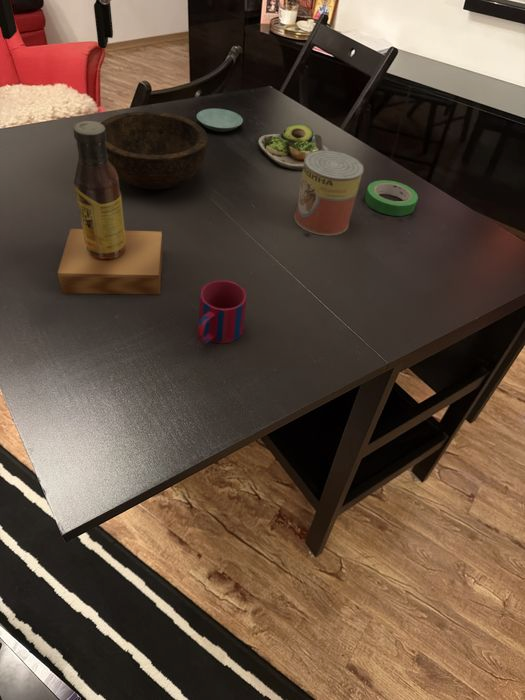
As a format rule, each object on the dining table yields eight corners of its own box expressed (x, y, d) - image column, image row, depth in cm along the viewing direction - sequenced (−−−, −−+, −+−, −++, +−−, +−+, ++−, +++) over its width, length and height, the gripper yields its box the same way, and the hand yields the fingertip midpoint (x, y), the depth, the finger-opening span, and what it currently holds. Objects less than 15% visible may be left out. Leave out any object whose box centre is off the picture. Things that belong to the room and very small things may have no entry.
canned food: (283, 211, 99) (292, 154, 90) (327, 201, 103) (340, 146, 95) (314, 240, 93) (327, 182, 84) (359, 229, 97) (376, 173, 89)
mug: (251, 325, 74) (255, 292, 70) (213, 364, 68) (215, 330, 63) (216, 307, 76) (218, 273, 72) (176, 343, 70) (175, 308, 65)
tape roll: (355, 192, 107) (358, 181, 106) (396, 188, 111) (399, 177, 109) (381, 219, 101) (385, 208, 99) (423, 213, 104) (428, 202, 102)
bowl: (185, 152, 112) (185, 108, 105) (222, 199, 99) (224, 152, 92) (90, 163, 104) (83, 115, 97) (117, 215, 91) (111, 164, 84)
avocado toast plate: (350, 171, 114) (355, 152, 111) (283, 179, 108) (286, 159, 105) (312, 137, 126) (315, 118, 123) (250, 142, 120) (251, 123, 116)
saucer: (250, 127, 126) (251, 118, 124) (225, 140, 119) (225, 131, 117) (214, 113, 130) (214, 104, 128) (187, 126, 122) (187, 116, 121)
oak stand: (62, 293, 75) (57, 273, 72) (74, 248, 83) (70, 228, 80) (160, 294, 77) (158, 275, 74) (162, 250, 85) (161, 231, 82)
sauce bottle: (83, 242, 78) (59, 116, 63) (122, 236, 80) (107, 113, 66) (90, 266, 74) (66, 137, 60) (131, 259, 76) (117, 134, 62)
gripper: (128, -177, 44) (141, 38, 56) (-79, -212, 41) (-18, 22, 53) (121, -179, 39) (137, 58, 51) (-116, -220, 36) (-40, 42, 48)
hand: (57, 40), depth 52 cm, fingers open, 9 cm apart
